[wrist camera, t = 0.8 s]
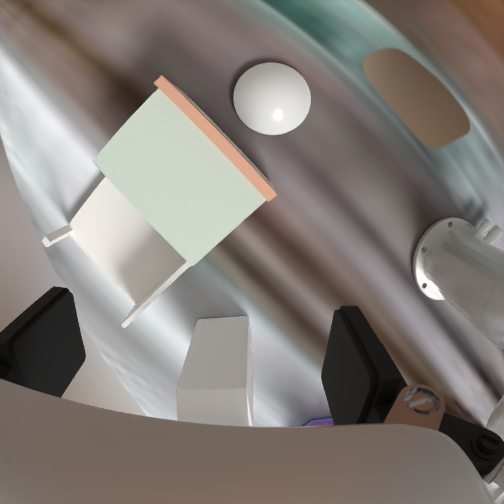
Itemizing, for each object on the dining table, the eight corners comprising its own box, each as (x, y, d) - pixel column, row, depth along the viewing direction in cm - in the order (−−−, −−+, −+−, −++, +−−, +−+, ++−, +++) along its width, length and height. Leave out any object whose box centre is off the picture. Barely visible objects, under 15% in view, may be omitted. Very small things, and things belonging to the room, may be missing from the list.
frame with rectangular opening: (186, 94, 35) (171, 83, 28) (270, 182, 38) (274, 189, 31) (70, 227, 40) (41, 241, 33) (142, 302, 43) (124, 328, 36)
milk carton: (197, 318, 44) (167, 417, 26) (248, 314, 43) (245, 416, 25) (206, 358, 46) (185, 459, 28) (253, 356, 46) (252, 459, 27)
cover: (171, 82, 27) (161, 75, 24) (274, 189, 31) (277, 194, 27) (98, 160, 30) (82, 162, 26) (194, 262, 33) (188, 274, 30)
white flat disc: (273, 51, 33) (274, 48, 32) (324, 103, 35) (326, 102, 34) (218, 97, 35) (217, 95, 34) (269, 150, 37) (269, 150, 36)
